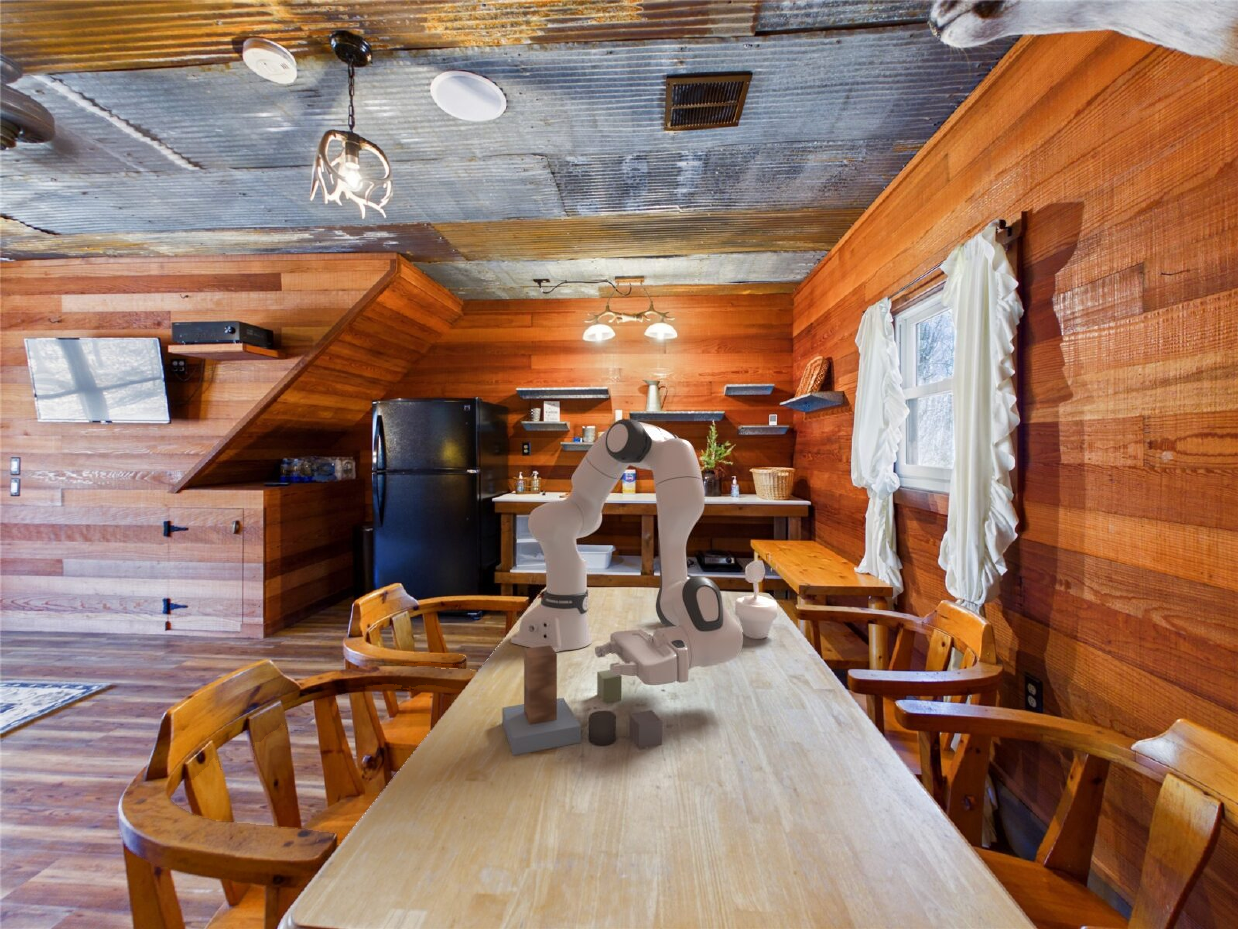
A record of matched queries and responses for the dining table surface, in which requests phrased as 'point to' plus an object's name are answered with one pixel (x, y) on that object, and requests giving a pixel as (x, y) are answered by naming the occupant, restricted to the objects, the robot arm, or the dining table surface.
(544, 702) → the walnut block
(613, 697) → the olive block
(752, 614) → the potted plant
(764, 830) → the dining table surface
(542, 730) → the slate riser
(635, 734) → the mauve grey cube
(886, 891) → the dining table surface
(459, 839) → the dining table surface
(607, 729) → the charcoal cylinder
